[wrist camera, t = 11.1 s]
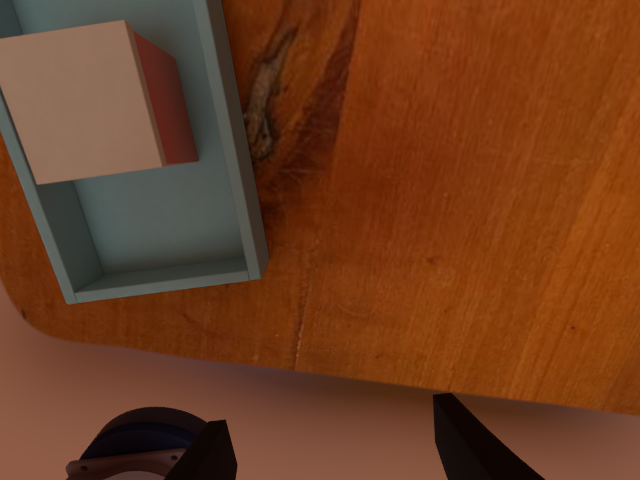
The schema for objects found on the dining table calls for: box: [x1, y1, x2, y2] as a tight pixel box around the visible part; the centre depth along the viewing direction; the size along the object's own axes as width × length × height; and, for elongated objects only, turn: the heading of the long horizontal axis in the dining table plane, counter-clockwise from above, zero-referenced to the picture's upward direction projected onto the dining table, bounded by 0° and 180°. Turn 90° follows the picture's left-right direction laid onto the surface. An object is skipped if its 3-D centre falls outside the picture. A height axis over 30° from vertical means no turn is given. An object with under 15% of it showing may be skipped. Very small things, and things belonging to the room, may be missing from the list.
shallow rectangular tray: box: [0, 0, 269, 304], centre depth 16 cm, size 10×17×3 cm, turn 8°
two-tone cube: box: [0, 20, 199, 185], centre depth 14 cm, size 5×5×4 cm
